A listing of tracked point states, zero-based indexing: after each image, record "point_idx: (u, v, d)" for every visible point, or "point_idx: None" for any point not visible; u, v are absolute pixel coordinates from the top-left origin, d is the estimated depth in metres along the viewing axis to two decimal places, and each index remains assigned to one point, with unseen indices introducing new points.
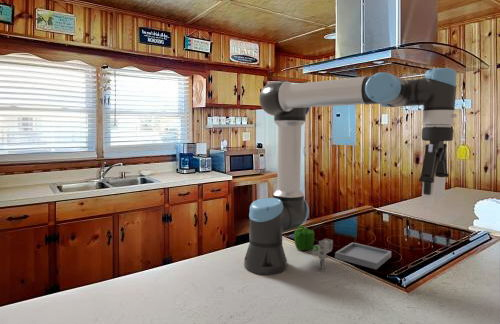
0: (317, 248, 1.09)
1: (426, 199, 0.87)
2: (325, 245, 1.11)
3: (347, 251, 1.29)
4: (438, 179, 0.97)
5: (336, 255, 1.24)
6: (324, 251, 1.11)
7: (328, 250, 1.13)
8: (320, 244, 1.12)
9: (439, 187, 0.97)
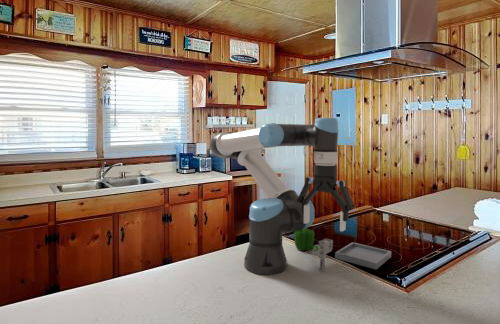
0: (317, 248, 1.09)
1: None
2: (325, 245, 1.11)
3: (347, 251, 1.29)
4: None
5: (336, 255, 1.24)
6: (324, 251, 1.11)
7: (328, 250, 1.13)
8: (320, 244, 1.12)
9: None
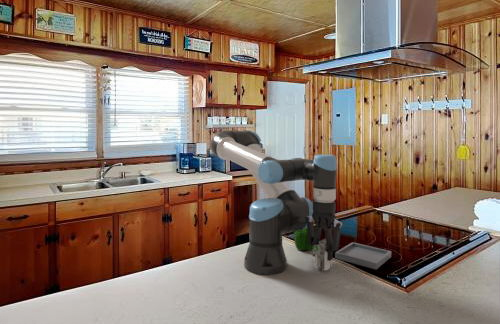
0: (317, 248, 1.09)
1: None
2: (325, 245, 1.11)
3: (347, 251, 1.29)
4: None
5: (336, 255, 1.24)
6: (324, 251, 1.11)
7: None
8: (320, 244, 1.12)
9: None
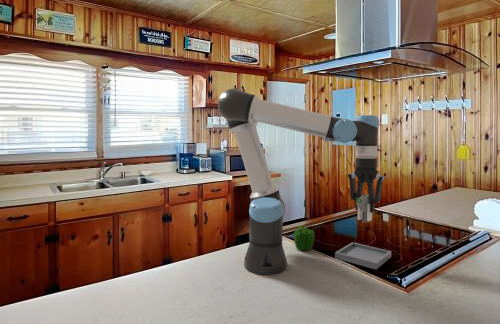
0: (361, 200, 1.19)
1: None
2: (367, 198, 1.21)
3: (347, 251, 1.29)
4: None
5: (336, 255, 1.24)
6: None
7: None
8: (363, 197, 1.22)
9: None
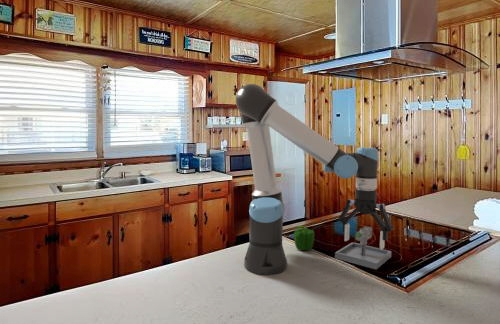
0: (360, 234, 1.21)
1: None
2: (366, 232, 1.23)
3: (347, 251, 1.29)
4: None
5: (336, 255, 1.24)
6: (365, 237, 1.23)
7: (368, 236, 1.25)
8: (362, 231, 1.23)
9: None
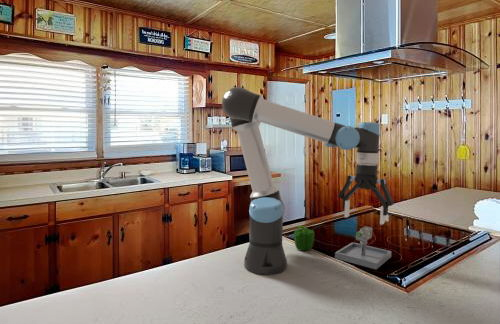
0: (360, 234, 1.21)
1: None
2: (367, 232, 1.23)
3: (347, 251, 1.29)
4: None
5: (336, 255, 1.24)
6: (366, 237, 1.23)
7: (369, 236, 1.25)
8: (362, 231, 1.24)
9: None
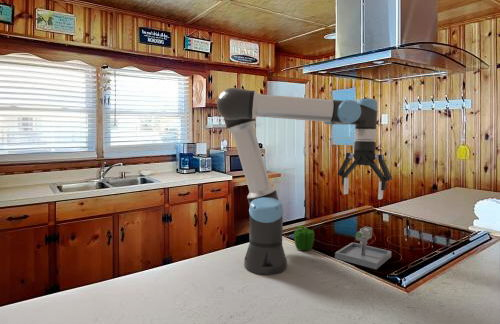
0: (360, 234, 1.21)
1: None
2: (367, 232, 1.23)
3: (347, 251, 1.29)
4: None
5: (336, 255, 1.24)
6: (366, 237, 1.23)
7: (369, 237, 1.25)
8: (362, 231, 1.23)
9: None
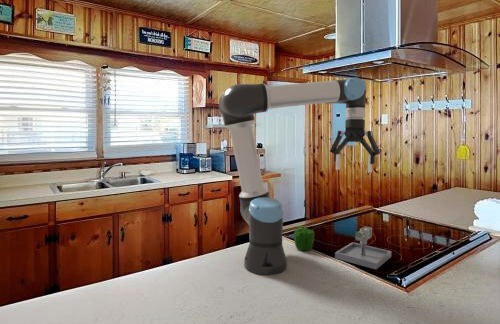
0: (360, 234, 1.21)
1: None
2: (366, 232, 1.23)
3: (347, 251, 1.29)
4: None
5: (336, 255, 1.24)
6: (365, 237, 1.23)
7: (368, 236, 1.25)
8: (362, 231, 1.24)
9: None
